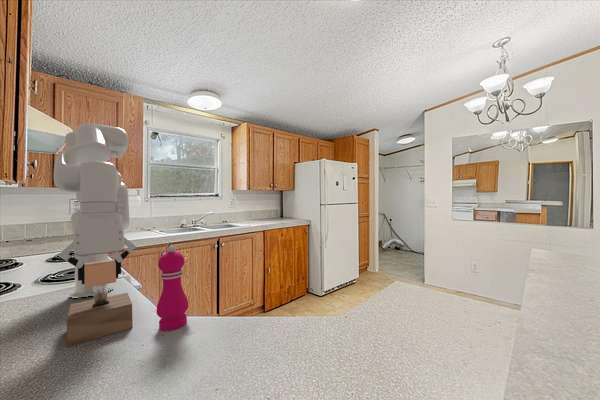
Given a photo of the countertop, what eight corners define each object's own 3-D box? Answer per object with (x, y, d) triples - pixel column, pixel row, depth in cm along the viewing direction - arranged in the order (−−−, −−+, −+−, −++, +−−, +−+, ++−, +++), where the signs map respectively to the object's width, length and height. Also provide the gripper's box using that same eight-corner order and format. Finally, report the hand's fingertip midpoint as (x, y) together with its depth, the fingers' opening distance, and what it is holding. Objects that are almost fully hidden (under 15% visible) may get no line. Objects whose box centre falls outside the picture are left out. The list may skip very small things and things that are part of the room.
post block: (71, 327, 63) (70, 304, 64) (127, 313, 71) (127, 292, 71) (67, 346, 54) (66, 319, 54) (132, 327, 62) (132, 303, 62)
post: (94, 306, 63) (93, 270, 63) (107, 303, 65) (106, 268, 65) (94, 308, 61) (93, 272, 61) (107, 305, 63) (107, 270, 63)
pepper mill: (175, 333, 58) (173, 248, 59) (149, 331, 60) (147, 248, 60) (194, 319, 65) (192, 243, 66) (171, 318, 67) (169, 243, 67)
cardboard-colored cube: (85, 282, 63) (85, 263, 64) (114, 277, 67) (114, 259, 67) (84, 287, 59) (84, 266, 59) (116, 282, 63) (115, 262, 63)
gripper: (137, 208, 72) (138, 271, 71) (54, 211, 61) (55, 284, 60) (140, 208, 66) (142, 275, 66) (50, 210, 55) (51, 292, 55)
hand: (100, 279), depth 63 cm, fingers closed on cardboard-colored cube, 5 cm apart
